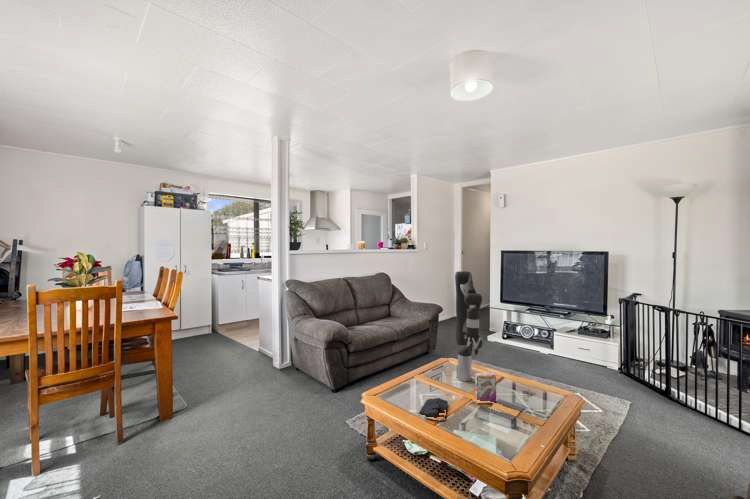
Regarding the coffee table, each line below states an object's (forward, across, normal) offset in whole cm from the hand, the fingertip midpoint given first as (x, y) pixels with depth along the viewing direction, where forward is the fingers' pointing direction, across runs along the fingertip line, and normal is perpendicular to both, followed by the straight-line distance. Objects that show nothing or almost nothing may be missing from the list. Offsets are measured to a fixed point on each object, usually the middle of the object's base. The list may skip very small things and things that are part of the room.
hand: (472, 353), depth 199 cm
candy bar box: (+27, +9, 0) cm, 29 cm away
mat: (+27, +20, 0) cm, 34 cm away
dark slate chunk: (+28, -8, -29) cm, 41 cm away
